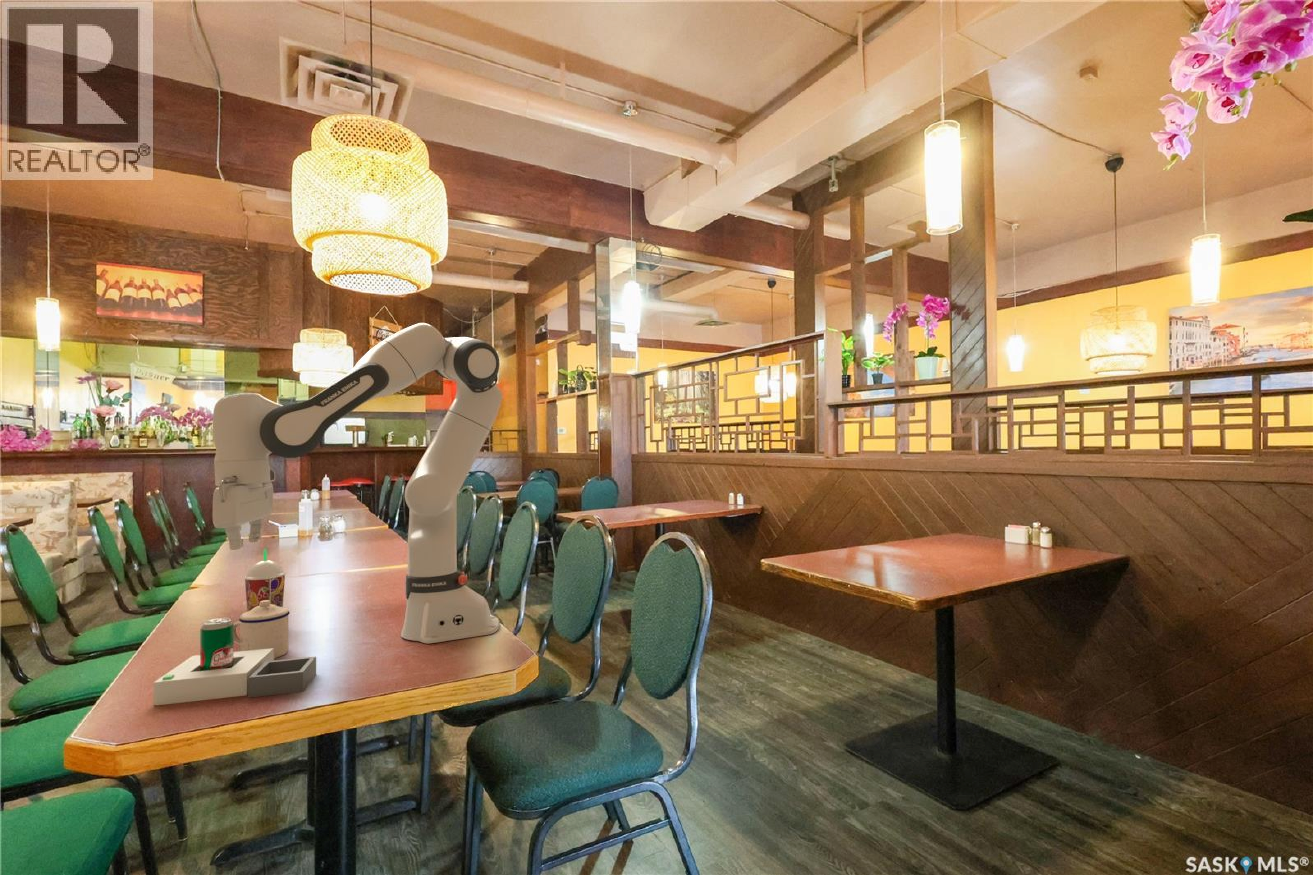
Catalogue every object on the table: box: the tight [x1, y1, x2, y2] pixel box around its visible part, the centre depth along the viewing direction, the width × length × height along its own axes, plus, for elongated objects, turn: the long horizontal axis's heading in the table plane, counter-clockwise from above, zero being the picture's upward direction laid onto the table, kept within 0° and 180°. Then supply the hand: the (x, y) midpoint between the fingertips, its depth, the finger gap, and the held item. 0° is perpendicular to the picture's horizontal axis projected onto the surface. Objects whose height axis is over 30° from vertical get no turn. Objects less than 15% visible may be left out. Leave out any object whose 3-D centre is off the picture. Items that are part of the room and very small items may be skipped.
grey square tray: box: [248, 655, 317, 699], centre depth 111 cm, size 9×9×4 cm
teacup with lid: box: [233, 600, 290, 659], centre depth 128 cm, size 12×9×12 cm
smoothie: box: [244, 548, 286, 612], centre depth 146 cm, size 8×8×20 cm
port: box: [153, 648, 275, 707], centre depth 111 cm, size 14×14×4 cm
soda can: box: [199, 617, 235, 671], centre depth 111 cm, size 5×5×12 cm
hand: (246, 545), depth 117 cm, fingers open, 8 cm apart
